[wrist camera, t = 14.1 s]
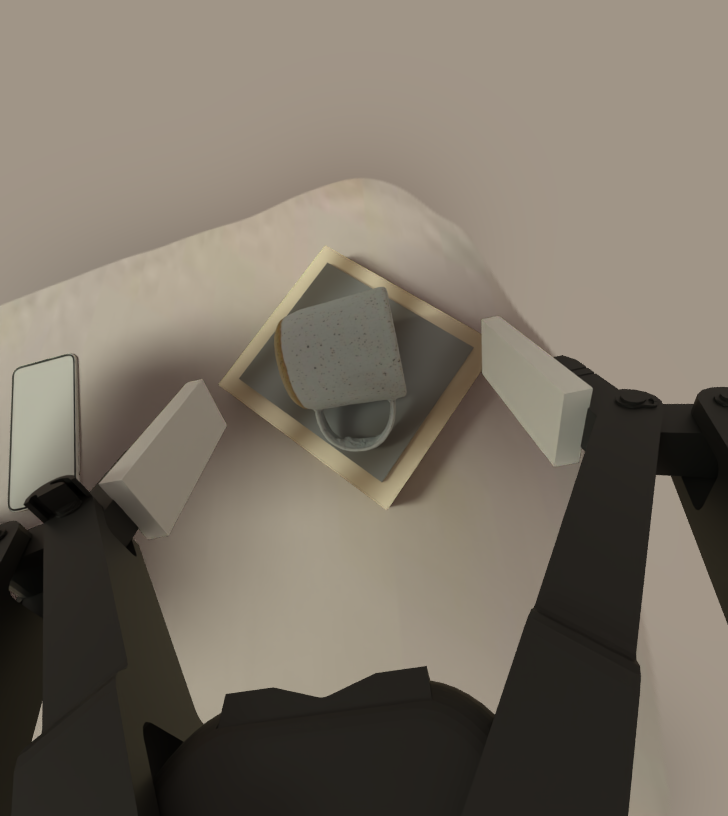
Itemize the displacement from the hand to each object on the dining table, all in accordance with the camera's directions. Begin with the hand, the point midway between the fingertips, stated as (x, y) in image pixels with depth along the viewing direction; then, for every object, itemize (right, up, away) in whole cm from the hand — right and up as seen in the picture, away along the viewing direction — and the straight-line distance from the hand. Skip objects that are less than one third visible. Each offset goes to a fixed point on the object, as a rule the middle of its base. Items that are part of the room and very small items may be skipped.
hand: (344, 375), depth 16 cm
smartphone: (-31, -4, +18) cm, 36 cm away
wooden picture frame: (0, +2, +15) cm, 15 cm away
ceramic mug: (0, 0, +12) cm, 12 cm away
